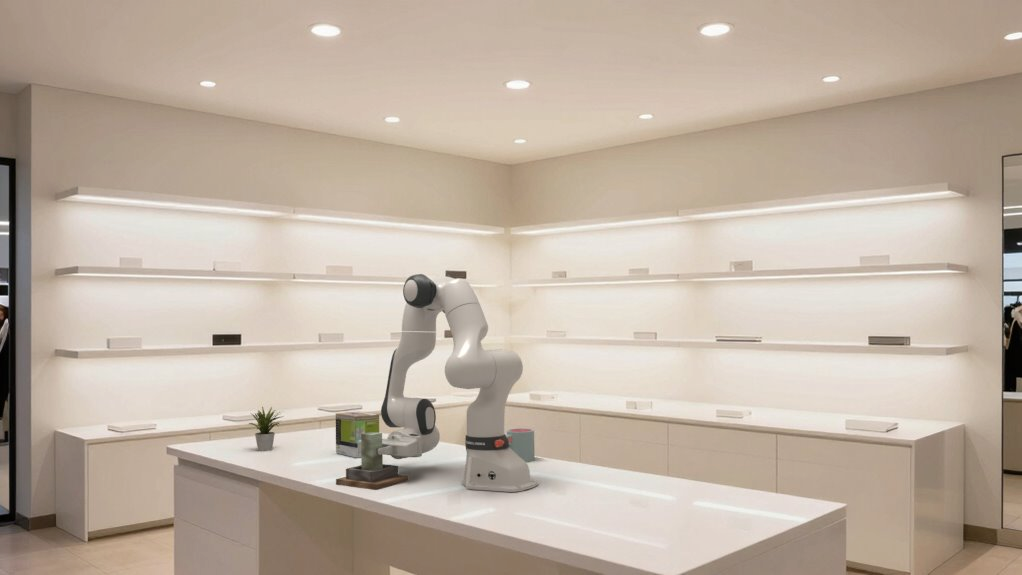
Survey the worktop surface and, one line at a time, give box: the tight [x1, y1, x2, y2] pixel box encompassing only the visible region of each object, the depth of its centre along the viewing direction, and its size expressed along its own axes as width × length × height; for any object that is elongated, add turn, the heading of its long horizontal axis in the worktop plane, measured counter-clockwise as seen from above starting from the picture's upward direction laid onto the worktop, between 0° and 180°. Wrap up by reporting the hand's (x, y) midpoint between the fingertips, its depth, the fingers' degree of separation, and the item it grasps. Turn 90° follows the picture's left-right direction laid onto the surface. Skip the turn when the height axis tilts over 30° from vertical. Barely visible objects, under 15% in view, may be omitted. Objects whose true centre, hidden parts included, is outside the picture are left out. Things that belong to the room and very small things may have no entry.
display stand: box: [335, 463, 409, 491], centre depth 249 cm, size 16×14×4 cm
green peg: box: [360, 432, 384, 471], centre depth 250 cm, size 4×4×12 cm
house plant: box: [248, 406, 285, 452], centre depth 312 cm, size 14×14×16 cm
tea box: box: [335, 411, 380, 459], centre depth 300 cm, size 15×10×15 cm, turn 40°
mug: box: [505, 427, 536, 463], centre depth 281 cm, size 14×9×10 cm
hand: (369, 450), depth 249 cm, fingers open, 5 cm apart
